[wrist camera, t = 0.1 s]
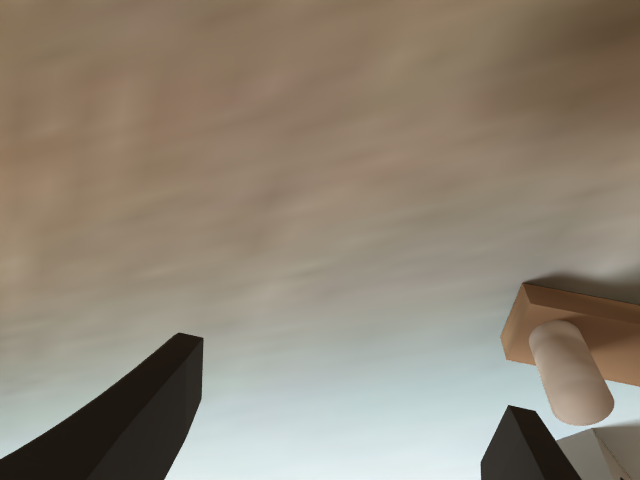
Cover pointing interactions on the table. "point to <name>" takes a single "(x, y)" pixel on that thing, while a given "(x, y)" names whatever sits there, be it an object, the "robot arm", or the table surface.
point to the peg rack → (575, 348)
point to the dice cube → (591, 457)
